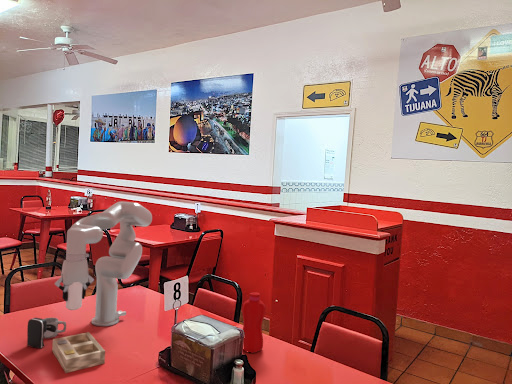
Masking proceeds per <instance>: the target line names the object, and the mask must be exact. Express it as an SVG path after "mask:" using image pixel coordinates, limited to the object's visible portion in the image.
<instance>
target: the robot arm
mask: <svg viewBox="0 0 512 384" xmlns="http://www.w3.org/2000/svg"><path fill="white" fill-rule="evenodd" d="M152 221H153V215H152V212H151V211H150V210H149V209H147V208H145V207H144V206H143V205H142V204H140V203H139V202H134V201H133V202H132V201H131V202H130V201H117V202H116V203H114V204H112V205H111V206H110V207H108V208H107V209H105V210H103V212H98V213H95V214H93V215H88V216H86V217H82V218H80V219H79V220H77V221H76V222H75V223H74V224H72V225H71V227H70V228H69V229H68V230H67V232H66V249H65V250H66V251H65V253H66V254H65V259H64V260H63V263H62V268H61V274H60V277H59V278H58V279H57V280H56V281H55V282H54V285H55V286H56V287H57V288H59V289H60V290H61V291H62V300H63V301H64V302H66V301H67V299H68V292H67V289H68V287H69V285H72V284H73V282H79V283H81V284H82V285H83V290H82V300H85V297H86V295H87V294H86V293H87V289H88V287H89V286H90V285H91V284H92V283H93V282H94V281H95V279H94V278H93V276H91V275H90V274H89V265H88V260H87V258H89V257H90V253H87V252H86V251H87V245H89V244H97V243H99V242H100V241H102V238H103V237H104V233H103V230H107V229H112V228H114V227H115V226H116V225H117V224H119V233H118V234H117V236H116V237H115V239H114V241H112V244H111V245H110V247H109V249H108V255H109V256H106V255H105V256H101V257H100V258H98V259H97V260H96V263H95V265H94V266H95V267H94V268H95V269H94V270H95V275H96V290H95V291H96V294H95V295H96V296H95V314H94V317H93V318H91V321H90V322H91V324H92V325H94V326H97V327H109V326H113V325H116V324H118V323H119V322H120V317H123V316H127V311H125V310H124V311H122V310H118V311H117V307H118V306H117V305H118V291H119V290H118V289H119V286H118V282H117V279H118V280H126V279H129V278H130V277H131V275H132V274H133V273H134V270H136V269H135V268H136V266H138V264H139V261H140V260H141V257H142V254H143V246H142V244H141V243H140V242H137V241H135V240H136V237H137V235H136V231H135V230H134V227H135V226H136V227H143V228H144V227H148V226H150V225H151V223H152ZM133 226H134V227H133ZM61 283H62V285H61Z"/></svg>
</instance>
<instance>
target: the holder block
mask: <svg viewBox="0 0 512 384" xmlns="http://www.w3.org/2000/svg"><path fill="white" fill-rule="evenodd" d="M51 351H52V353H53V355H54V357H55V358H56V359H57V362H58V364H60V366H61V368H62V369H63V371H64V373H65V374H68V373H71V372H75V371H79V370H84V369H88V368H91V367H96V366H99V365H104V364H106V349H104V348H103V347H102V345H101V344H100V343H99V342H98V341H97V339H95V337H94V336H93V335H92V334H91V333H90V332H89V331H88V332H84V333H83V332H82V333H77V334H73V335H68V336H63V337H57V338H52V349H51Z"/></svg>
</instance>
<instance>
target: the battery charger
mask: <svg viewBox="0 0 512 384" xmlns="http://www.w3.org/2000/svg"><path fill="white" fill-rule="evenodd" d="M26 328H27V330H26V333H27V335H26V336H27V341H26V342H27V344H26V346H28V347H31V348H35V349H43V348H44V347H45V343H44V339H45V338H44V332H46V331H47V322H46V320H45V318H40V317H34V318H30V319H28V321H27V327H26Z"/></svg>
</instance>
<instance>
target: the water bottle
mask: <svg viewBox="0 0 512 384" xmlns="http://www.w3.org/2000/svg"><path fill="white" fill-rule="evenodd" d="M260 297H261V294H260V292H250V293H249V298H248V299H247V300H245V301H244V302H243V305H242V308H241V314H242V315H241V316H242V321H243V323H242V324H243V327H242V329H243V330H244V332H245V338H244V350H245V351H244V350H243V351H244V352H246V351H248V352H251V353H250V354H254V353H253V352H255V353H257V352H260V351H261V350H263V347H264V337H263V329H262V327H263V326H262V325H263V321H264V318H265V316H266V305H265V304H264V302H263V301H262V300H260ZM248 352H247V353H248Z"/></svg>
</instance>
